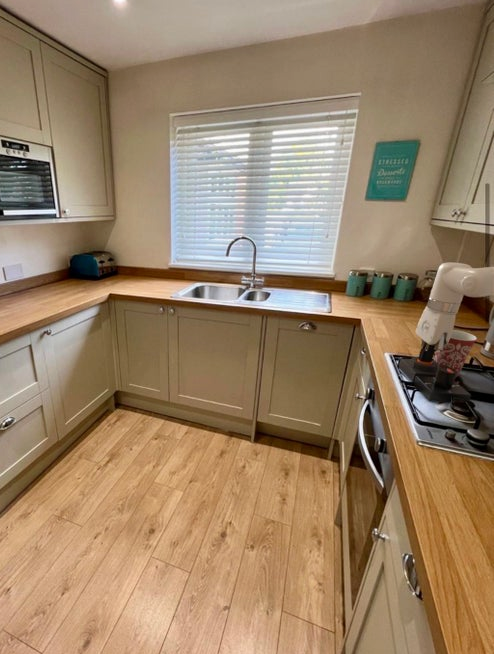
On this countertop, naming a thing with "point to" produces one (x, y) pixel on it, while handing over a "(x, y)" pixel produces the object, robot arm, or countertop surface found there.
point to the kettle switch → (424, 362)
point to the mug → (455, 350)
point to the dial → (445, 377)
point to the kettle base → (417, 368)
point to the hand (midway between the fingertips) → (424, 360)
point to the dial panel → (439, 390)
